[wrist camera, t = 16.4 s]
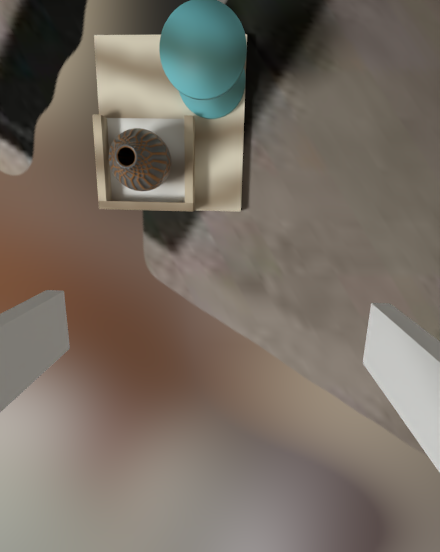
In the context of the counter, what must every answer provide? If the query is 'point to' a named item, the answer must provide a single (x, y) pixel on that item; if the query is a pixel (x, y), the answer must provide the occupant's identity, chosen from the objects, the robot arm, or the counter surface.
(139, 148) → the vase
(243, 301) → the counter surface
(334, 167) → the counter surface
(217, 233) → the counter surface
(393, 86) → the counter surface
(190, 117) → the jig board
